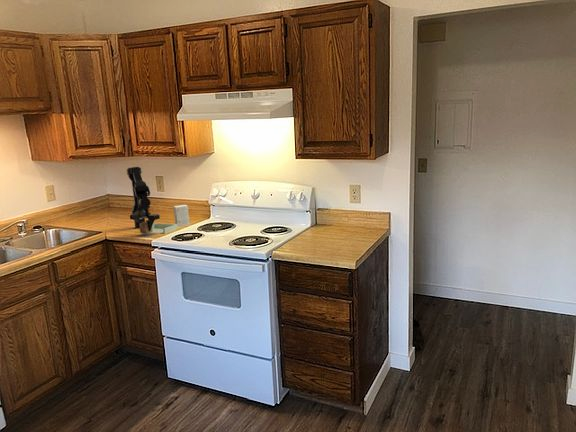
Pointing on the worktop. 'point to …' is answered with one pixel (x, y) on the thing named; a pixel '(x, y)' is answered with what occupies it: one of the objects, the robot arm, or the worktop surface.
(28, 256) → the worktop surface
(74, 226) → the worktop surface
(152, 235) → the mat
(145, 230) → the walnut block
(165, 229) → the crate
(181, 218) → the small box
